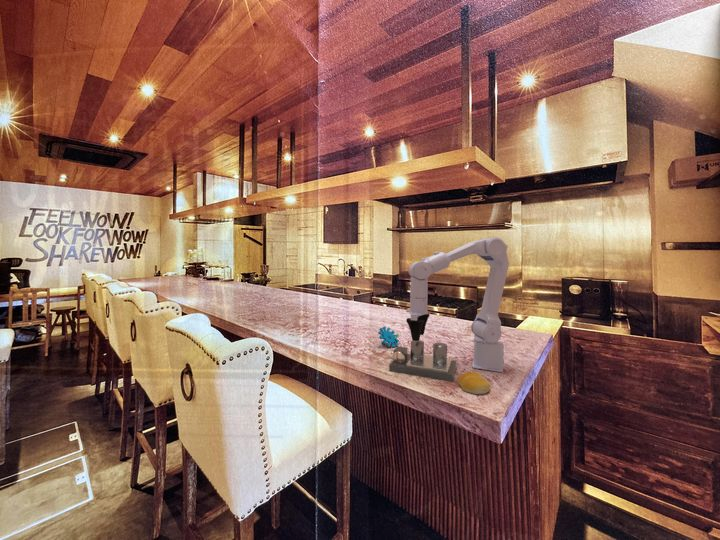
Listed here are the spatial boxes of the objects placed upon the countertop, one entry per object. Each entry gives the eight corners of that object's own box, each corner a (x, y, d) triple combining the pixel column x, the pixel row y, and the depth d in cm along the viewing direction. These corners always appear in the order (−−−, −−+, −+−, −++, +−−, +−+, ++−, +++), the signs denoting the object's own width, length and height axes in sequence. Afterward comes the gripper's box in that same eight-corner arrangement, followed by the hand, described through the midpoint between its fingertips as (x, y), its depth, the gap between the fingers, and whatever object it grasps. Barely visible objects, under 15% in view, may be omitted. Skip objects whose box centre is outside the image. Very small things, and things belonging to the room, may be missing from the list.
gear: (386, 346, 116) (376, 325, 122) (378, 354, 119) (369, 333, 125) (405, 345, 122) (395, 325, 128) (397, 352, 126) (387, 332, 131)
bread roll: (465, 395, 79) (465, 381, 79) (455, 381, 88) (455, 368, 88) (495, 396, 79) (496, 381, 79) (482, 381, 88) (482, 368, 88)
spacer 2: (447, 361, 96) (448, 343, 96) (445, 366, 92) (446, 347, 92) (434, 359, 98) (434, 342, 98) (431, 363, 94) (432, 345, 94)
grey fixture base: (456, 366, 99) (456, 350, 99) (452, 381, 87) (453, 363, 87) (399, 358, 107) (399, 343, 107) (388, 370, 95) (388, 353, 95)
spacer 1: (425, 358, 99) (425, 341, 99) (421, 362, 95) (422, 344, 95) (412, 356, 101) (413, 339, 101) (408, 360, 97) (409, 342, 97)
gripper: (411, 294, 105) (411, 331, 106) (401, 299, 92) (400, 341, 93) (431, 295, 102) (430, 333, 103) (423, 301, 89) (423, 344, 90)
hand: (418, 337), depth 98 cm, fingers open, 7 cm apart
